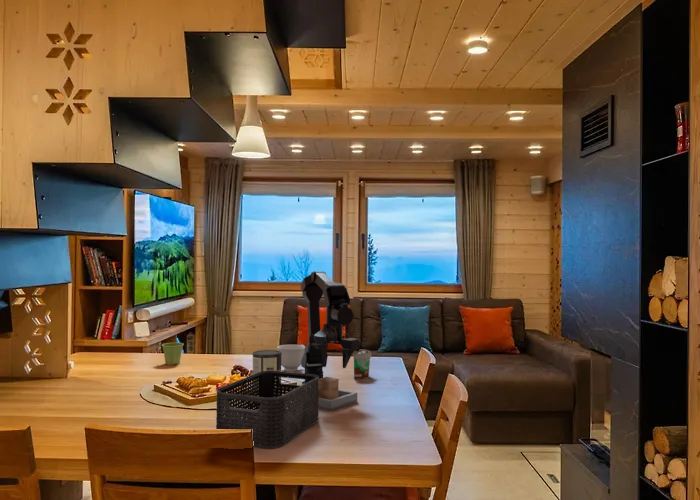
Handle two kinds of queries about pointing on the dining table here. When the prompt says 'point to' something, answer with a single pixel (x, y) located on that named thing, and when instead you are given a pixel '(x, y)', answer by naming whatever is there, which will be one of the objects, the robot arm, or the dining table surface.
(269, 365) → the coffee can
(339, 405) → the serving tray
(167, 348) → the plant pot
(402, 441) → the dining table surface
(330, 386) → the walnut block
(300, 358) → the teacup
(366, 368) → the food container
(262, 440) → the storage bin
